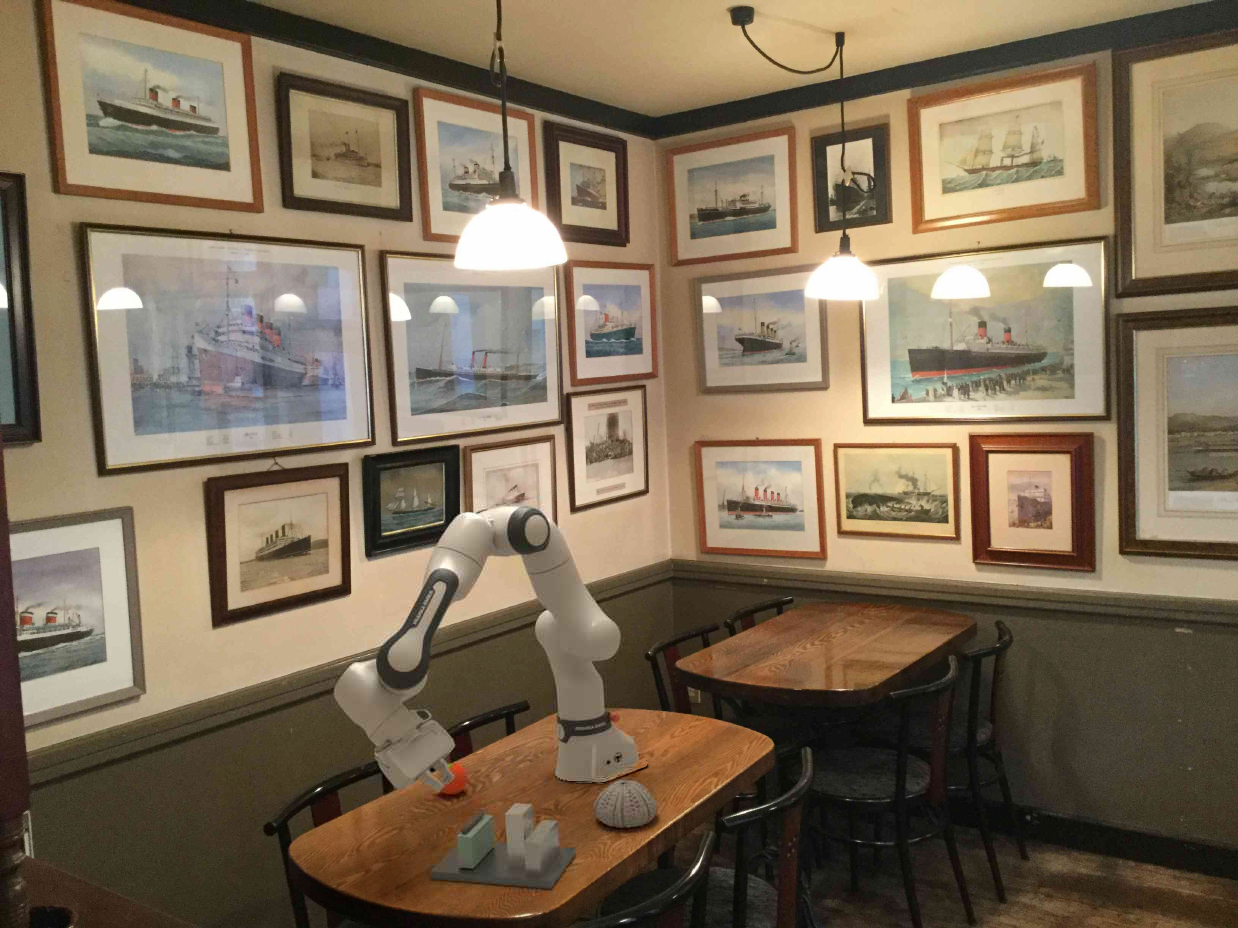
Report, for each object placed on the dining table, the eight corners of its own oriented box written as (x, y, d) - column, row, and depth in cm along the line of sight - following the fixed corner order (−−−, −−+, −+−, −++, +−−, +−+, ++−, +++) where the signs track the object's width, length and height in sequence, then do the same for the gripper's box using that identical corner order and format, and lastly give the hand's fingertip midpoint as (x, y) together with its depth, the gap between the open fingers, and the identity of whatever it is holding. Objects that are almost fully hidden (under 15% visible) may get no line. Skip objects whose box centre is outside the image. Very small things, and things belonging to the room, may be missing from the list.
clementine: (451, 802, 225) (449, 771, 225) (428, 797, 229) (426, 767, 228) (474, 790, 232) (472, 760, 231) (452, 785, 235) (450, 756, 235)
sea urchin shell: (617, 802, 220) (615, 767, 219) (670, 814, 212) (668, 776, 212) (581, 825, 209) (579, 787, 208) (636, 838, 201) (634, 799, 201)
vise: (430, 878, 188) (427, 839, 188) (462, 846, 201) (459, 810, 201) (550, 889, 181) (548, 848, 181) (575, 855, 195) (573, 817, 194)
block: (508, 865, 188) (505, 813, 188) (518, 853, 193) (515, 803, 193) (525, 866, 187) (522, 814, 187) (535, 855, 192) (532, 804, 192)
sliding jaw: (458, 867, 188) (456, 829, 188) (480, 844, 198) (478, 808, 198) (473, 868, 188) (471, 830, 187) (494, 845, 197) (492, 809, 197)
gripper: (380, 740, 185) (431, 794, 183) (430, 707, 205) (477, 755, 202) (360, 762, 187) (411, 817, 184) (412, 727, 206) (459, 776, 204)
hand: (446, 784), depth 194 cm, fingers open, 3 cm apart
